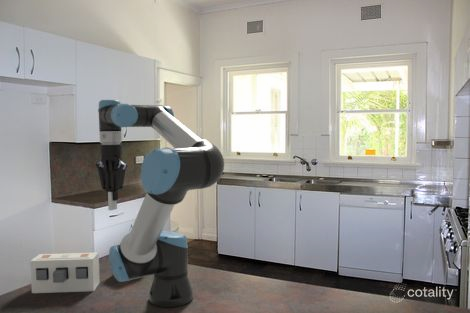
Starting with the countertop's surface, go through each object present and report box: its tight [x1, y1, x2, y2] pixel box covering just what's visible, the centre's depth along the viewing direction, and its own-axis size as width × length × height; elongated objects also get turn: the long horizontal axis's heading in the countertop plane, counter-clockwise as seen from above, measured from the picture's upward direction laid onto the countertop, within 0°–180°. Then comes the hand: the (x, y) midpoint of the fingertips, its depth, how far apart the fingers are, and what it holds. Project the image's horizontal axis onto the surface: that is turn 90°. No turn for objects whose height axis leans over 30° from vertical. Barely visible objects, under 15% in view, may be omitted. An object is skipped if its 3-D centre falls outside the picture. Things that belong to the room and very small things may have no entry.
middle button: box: [53, 268, 67, 283], centre depth 144 cm, size 4×4×4 cm
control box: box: [29, 251, 101, 294], centre depth 150 cm, size 8×22×12 cm, turn 94°
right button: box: [76, 267, 88, 279], centre depth 148 cm, size 4×4×4 cm
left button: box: [36, 268, 49, 280], centre depth 147 cm, size 4×4×4 cm
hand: (112, 209), depth 144 cm, fingers closed
